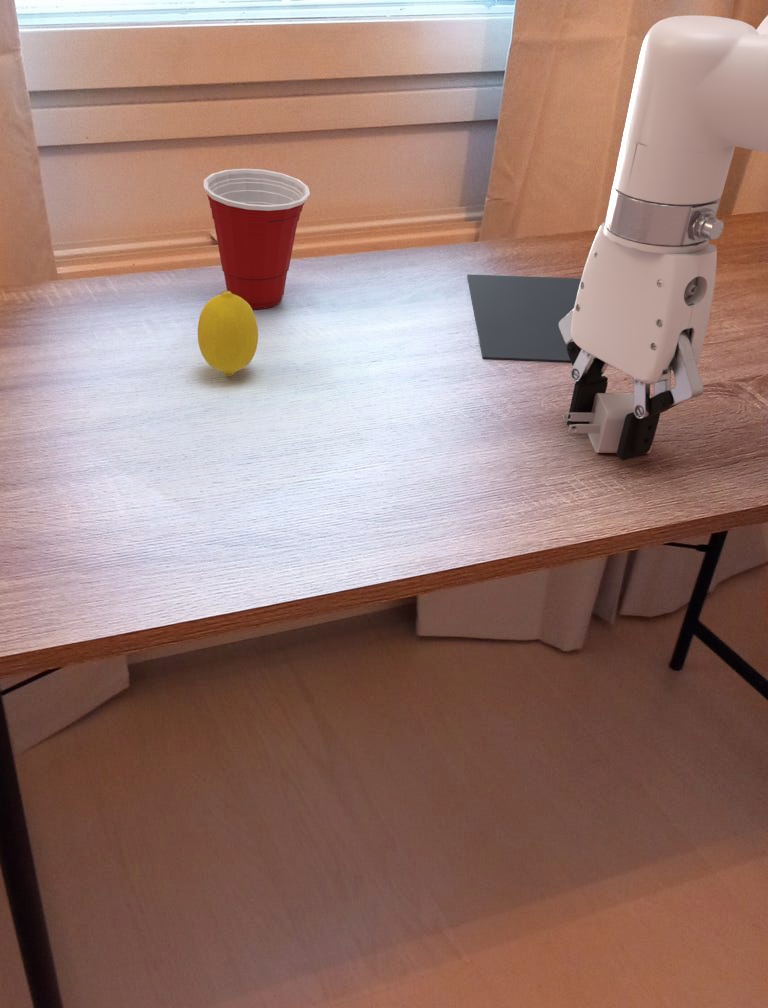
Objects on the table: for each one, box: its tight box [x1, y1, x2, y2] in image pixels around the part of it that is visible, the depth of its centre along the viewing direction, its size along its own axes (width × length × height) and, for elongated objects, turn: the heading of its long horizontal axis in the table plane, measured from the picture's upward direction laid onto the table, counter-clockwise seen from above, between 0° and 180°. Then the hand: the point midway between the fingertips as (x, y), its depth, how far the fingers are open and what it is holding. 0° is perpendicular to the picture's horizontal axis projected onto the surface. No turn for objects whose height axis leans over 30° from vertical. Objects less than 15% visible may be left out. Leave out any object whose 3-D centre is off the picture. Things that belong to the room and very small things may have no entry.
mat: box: [466, 273, 582, 363], centre depth 107 cm, size 22×18×1 cm
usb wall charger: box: [562, 392, 661, 454], centre depth 85 cm, size 4×7×4 cm, turn 90°
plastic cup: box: [203, 168, 311, 310], centre depth 106 cm, size 11×11×12 cm
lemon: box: [197, 290, 259, 377], centre depth 93 cm, size 6×6×8 cm
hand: (607, 437), depth 86 cm, fingers closed on usb wall charger, 5 cm apart
